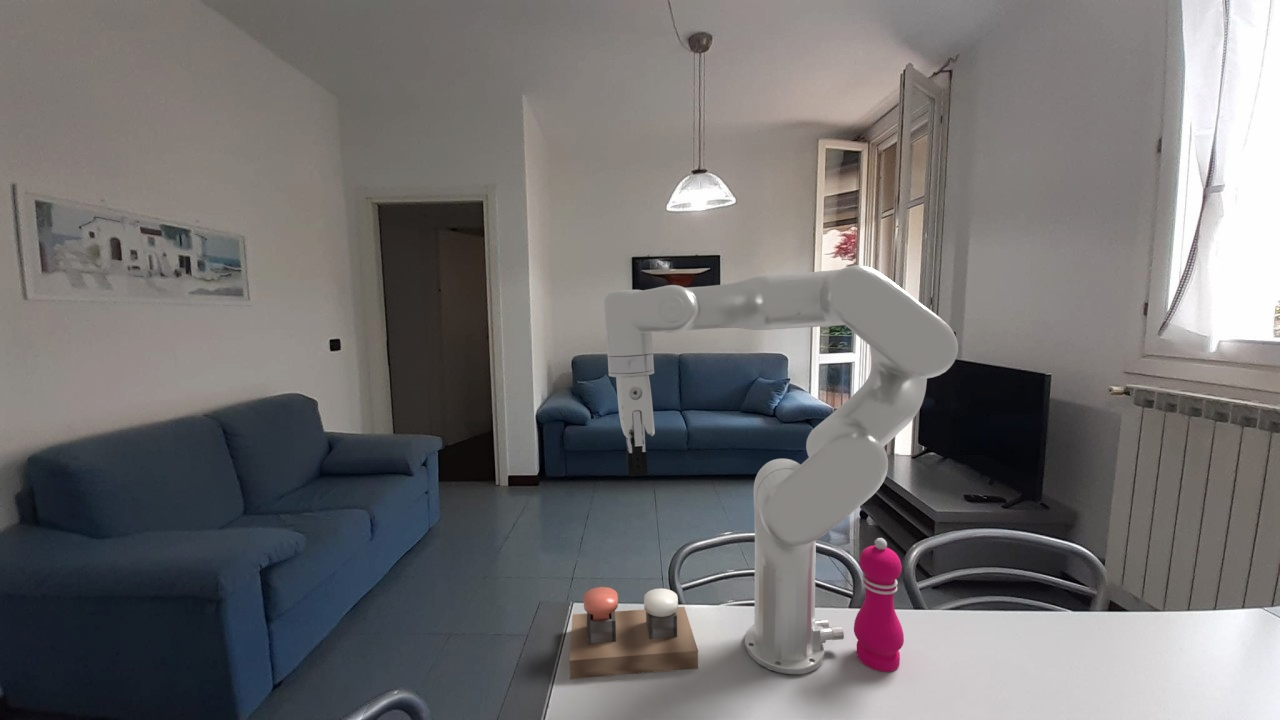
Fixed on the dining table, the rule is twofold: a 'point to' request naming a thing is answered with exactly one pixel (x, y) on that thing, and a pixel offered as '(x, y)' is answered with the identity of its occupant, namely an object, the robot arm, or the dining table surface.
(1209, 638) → the dining table surface
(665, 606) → the cream button
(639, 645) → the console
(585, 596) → the red button
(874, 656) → the pepper mill
